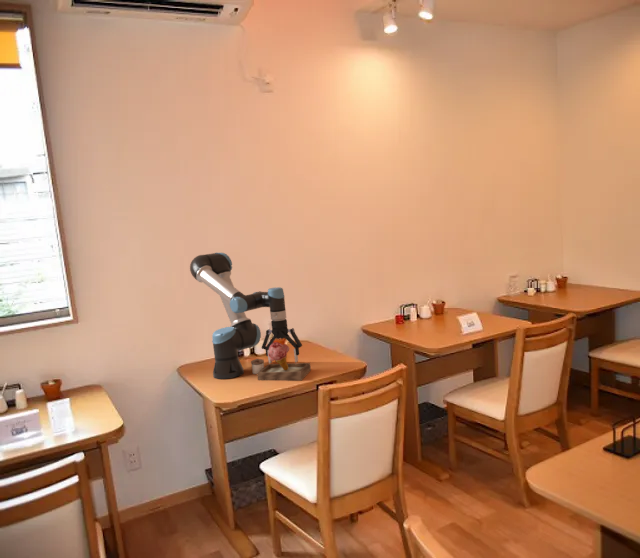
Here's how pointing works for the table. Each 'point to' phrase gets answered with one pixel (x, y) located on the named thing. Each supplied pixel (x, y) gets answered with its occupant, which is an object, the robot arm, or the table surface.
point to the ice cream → (279, 354)
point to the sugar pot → (257, 365)
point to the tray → (284, 372)
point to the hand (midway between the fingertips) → (283, 362)
